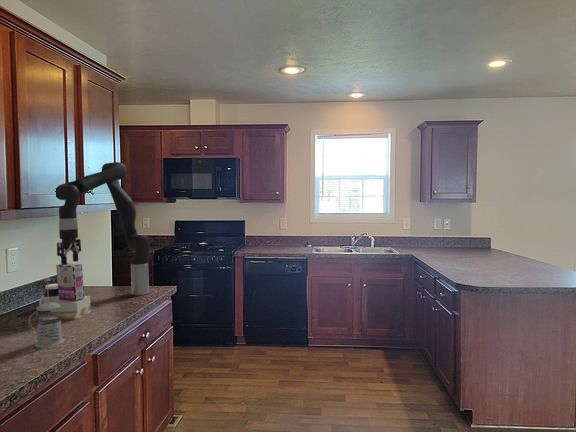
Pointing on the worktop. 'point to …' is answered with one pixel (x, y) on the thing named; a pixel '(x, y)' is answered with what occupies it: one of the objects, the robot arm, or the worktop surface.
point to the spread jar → (50, 294)
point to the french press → (48, 325)
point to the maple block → (73, 313)
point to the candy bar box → (70, 282)
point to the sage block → (72, 305)
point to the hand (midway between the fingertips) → (70, 263)
